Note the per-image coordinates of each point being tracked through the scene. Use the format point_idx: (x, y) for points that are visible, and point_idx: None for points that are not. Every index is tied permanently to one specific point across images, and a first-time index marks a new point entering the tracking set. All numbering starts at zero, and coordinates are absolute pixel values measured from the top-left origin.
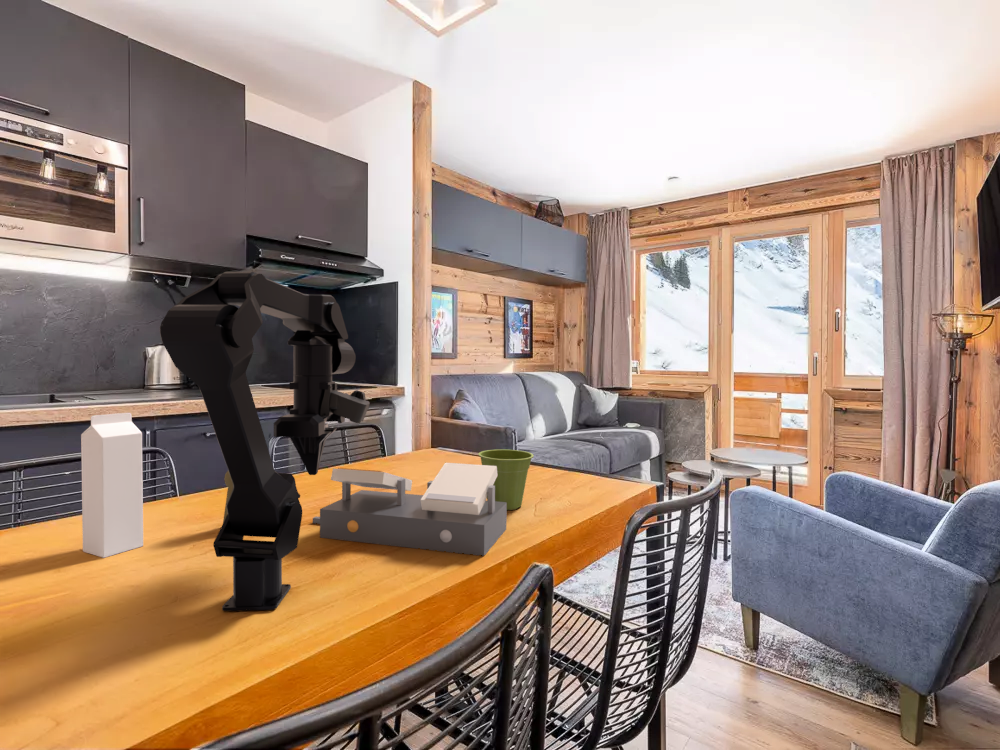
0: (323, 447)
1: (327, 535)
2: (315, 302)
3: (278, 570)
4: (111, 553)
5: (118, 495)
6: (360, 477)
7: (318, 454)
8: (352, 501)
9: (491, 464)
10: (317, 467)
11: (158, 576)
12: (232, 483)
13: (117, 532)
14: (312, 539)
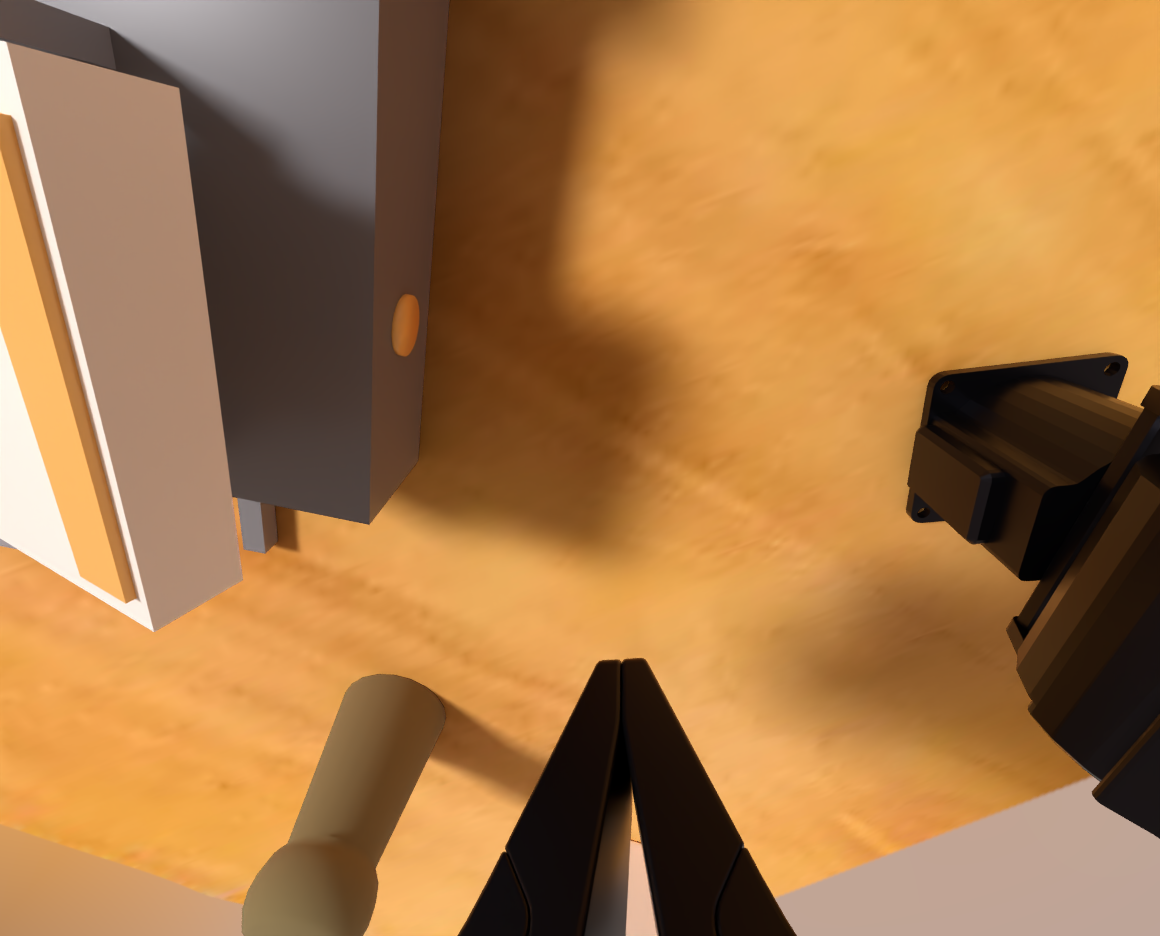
0: (493, 932)
1: (416, 434)
2: None
3: (1133, 408)
4: (639, 847)
5: None
6: (169, 365)
7: (743, 858)
8: None
9: None
10: (642, 703)
11: (770, 725)
12: (374, 892)
13: (629, 899)
14: (443, 479)
